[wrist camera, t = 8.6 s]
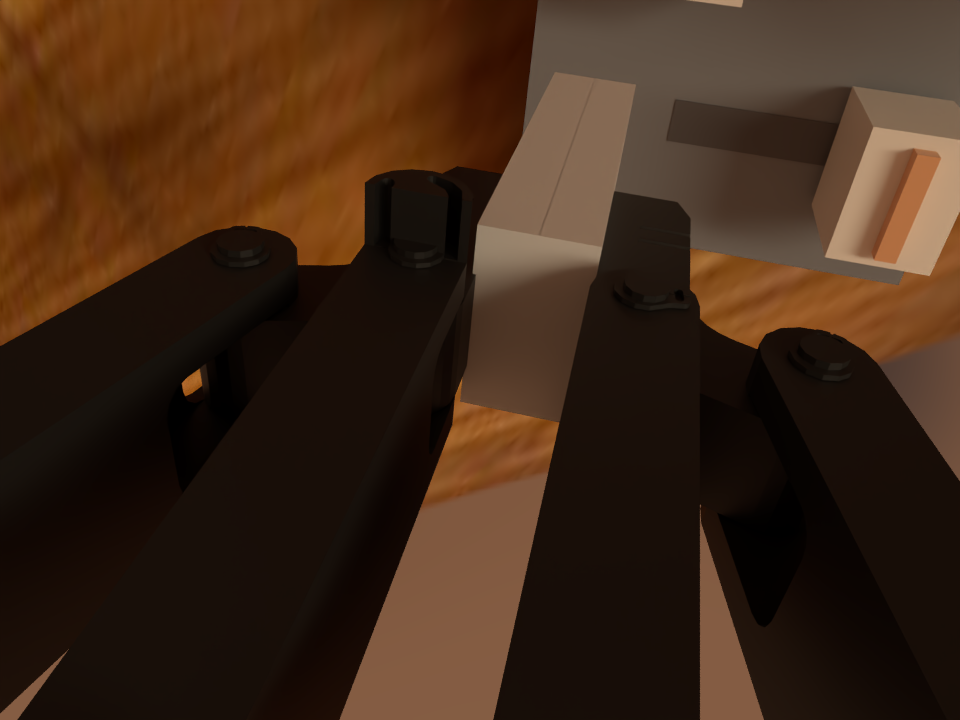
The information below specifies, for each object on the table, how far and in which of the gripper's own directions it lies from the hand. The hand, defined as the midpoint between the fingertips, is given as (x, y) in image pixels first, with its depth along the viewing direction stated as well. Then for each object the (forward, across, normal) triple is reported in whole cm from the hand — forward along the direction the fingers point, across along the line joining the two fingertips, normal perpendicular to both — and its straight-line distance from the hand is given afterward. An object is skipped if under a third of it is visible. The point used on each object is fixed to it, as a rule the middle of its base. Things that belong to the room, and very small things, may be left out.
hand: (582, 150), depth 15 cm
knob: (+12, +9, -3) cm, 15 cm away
